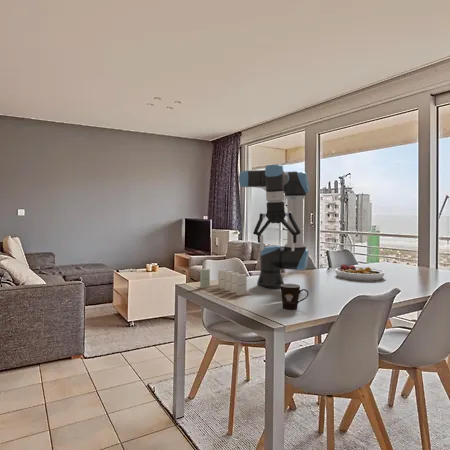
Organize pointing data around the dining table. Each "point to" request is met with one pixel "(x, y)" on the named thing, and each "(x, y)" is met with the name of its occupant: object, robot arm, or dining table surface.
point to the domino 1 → (205, 278)
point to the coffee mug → (291, 296)
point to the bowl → (359, 273)
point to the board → (221, 292)
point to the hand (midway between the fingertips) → (277, 250)
